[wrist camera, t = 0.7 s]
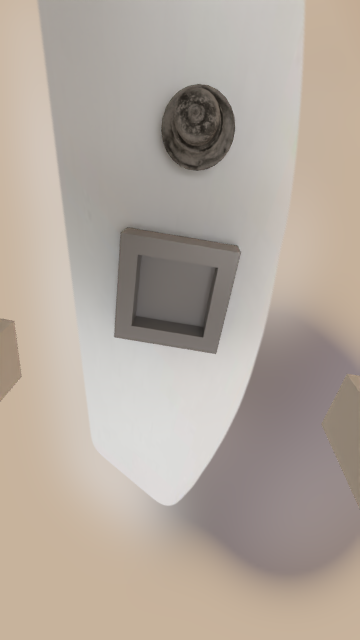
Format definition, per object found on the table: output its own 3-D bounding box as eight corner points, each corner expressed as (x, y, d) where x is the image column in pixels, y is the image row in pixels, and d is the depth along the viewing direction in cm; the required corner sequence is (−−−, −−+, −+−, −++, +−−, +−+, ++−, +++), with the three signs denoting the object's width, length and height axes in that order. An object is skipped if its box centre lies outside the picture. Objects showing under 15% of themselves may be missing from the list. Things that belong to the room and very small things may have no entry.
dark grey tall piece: (186, 183, 29) (177, 190, 18) (153, 121, 27) (122, 88, 16) (242, 147, 28) (267, 132, 17) (211, 78, 26) (219, 11, 15)
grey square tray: (127, 227, 31) (120, 232, 29) (237, 245, 31) (240, 252, 29) (120, 324, 37) (114, 337, 34) (214, 340, 37) (216, 353, 34)
